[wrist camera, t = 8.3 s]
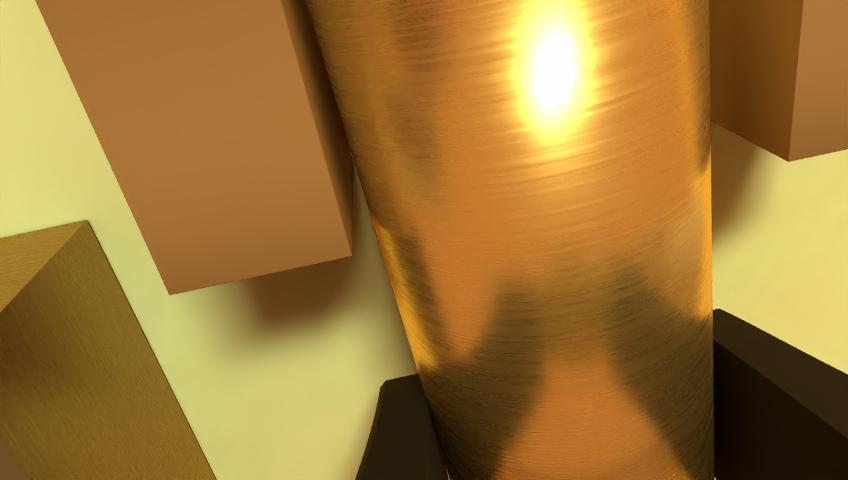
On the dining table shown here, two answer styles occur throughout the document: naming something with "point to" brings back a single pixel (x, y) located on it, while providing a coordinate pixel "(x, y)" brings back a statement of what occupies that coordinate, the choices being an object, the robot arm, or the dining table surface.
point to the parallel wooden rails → (322, 125)
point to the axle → (542, 223)
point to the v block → (81, 371)
